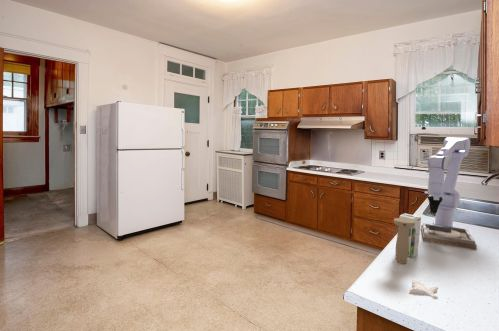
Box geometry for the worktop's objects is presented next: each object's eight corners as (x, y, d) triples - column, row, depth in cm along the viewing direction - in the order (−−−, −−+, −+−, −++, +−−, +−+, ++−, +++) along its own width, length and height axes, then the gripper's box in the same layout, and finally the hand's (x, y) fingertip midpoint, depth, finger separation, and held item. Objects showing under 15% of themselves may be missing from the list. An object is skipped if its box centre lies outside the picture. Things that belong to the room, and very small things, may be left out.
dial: (458, 232, 127) (459, 225, 127) (462, 239, 118) (463, 232, 118) (427, 228, 133) (428, 221, 132) (429, 234, 124) (430, 227, 123)
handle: (390, 258, 104) (393, 217, 102) (410, 261, 102) (414, 219, 100) (391, 263, 100) (394, 221, 98) (412, 267, 97) (415, 223, 96)
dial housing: (420, 228, 137) (421, 222, 137) (467, 235, 129) (468, 228, 129) (423, 240, 122) (423, 233, 121) (476, 249, 113) (477, 242, 113)
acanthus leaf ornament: (409, 294, 82) (409, 288, 82) (408, 283, 88) (409, 277, 88) (441, 301, 78) (441, 295, 78) (438, 289, 84) (438, 283, 84)
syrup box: (396, 252, 109) (398, 215, 107) (402, 248, 113) (405, 212, 111) (412, 258, 105) (415, 218, 103) (418, 253, 108) (421, 215, 107)
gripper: (424, 179, 137) (422, 207, 139) (426, 184, 124) (423, 215, 126) (442, 181, 134) (439, 209, 136) (446, 186, 121) (443, 217, 123)
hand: (433, 212), depth 131 cm, fingers closed
